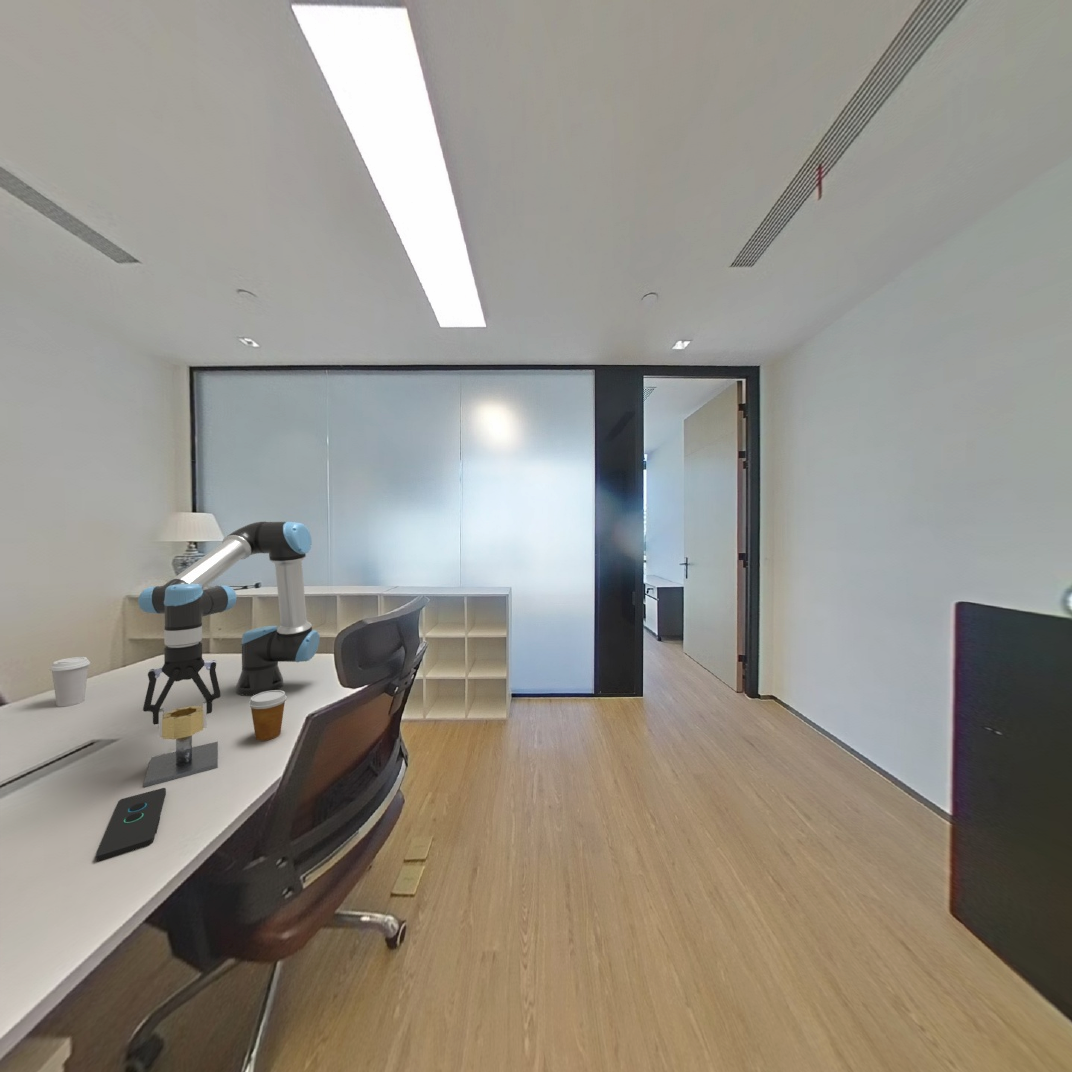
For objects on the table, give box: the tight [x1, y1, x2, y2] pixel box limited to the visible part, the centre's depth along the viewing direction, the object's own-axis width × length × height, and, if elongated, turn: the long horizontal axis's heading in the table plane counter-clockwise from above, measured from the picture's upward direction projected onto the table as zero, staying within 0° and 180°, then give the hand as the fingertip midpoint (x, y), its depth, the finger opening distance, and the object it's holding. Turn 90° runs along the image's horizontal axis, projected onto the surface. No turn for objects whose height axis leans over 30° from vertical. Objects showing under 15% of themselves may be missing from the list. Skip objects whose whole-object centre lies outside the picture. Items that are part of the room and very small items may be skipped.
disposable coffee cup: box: [248, 689, 288, 741], centre depth 125 cm, size 10×10×12 cm
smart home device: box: [95, 787, 167, 862], centre depth 88 cm, size 8×2×20 cm
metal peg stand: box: [143, 735, 219, 788], centre depth 109 cm, size 14×14×9 cm
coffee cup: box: [49, 656, 91, 708], centre depth 146 cm, size 10×10×15 cm
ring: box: [161, 705, 204, 740], centre depth 109 cm, size 8×8×5 cm
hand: (183, 730), depth 109 cm, fingers closed on ring, 8 cm apart
